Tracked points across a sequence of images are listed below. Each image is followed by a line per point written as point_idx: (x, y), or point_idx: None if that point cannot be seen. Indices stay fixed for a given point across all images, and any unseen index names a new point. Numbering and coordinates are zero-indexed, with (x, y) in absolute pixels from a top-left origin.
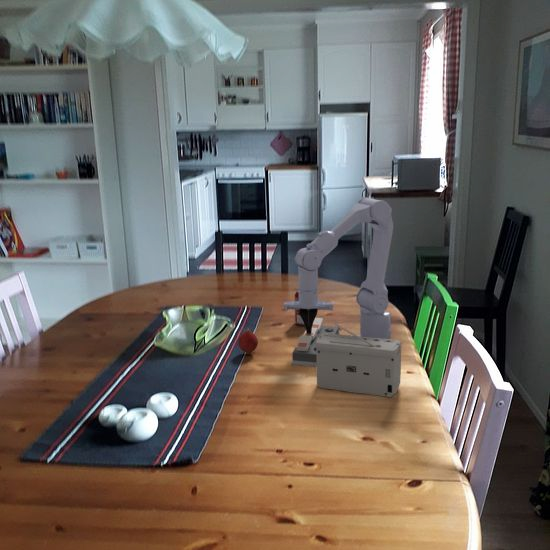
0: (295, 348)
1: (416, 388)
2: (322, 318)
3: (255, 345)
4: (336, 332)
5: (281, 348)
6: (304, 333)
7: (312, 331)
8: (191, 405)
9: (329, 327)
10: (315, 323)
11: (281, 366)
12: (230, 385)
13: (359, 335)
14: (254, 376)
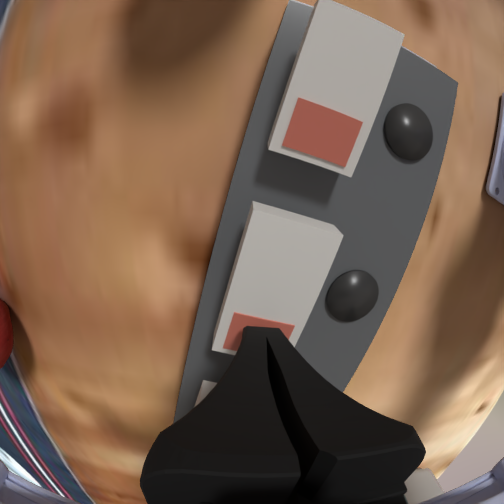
0: (179, 401)
1: (447, 456)
2: (400, 37)
3: (8, 356)
4: (438, 153)
5: (101, 256)
6: (222, 325)
7: (289, 296)
8: (47, 482)
9: (411, 77)
10: (332, 89)
11: (143, 419)
12: (62, 460)
13: (500, 141)
14: (90, 447)
